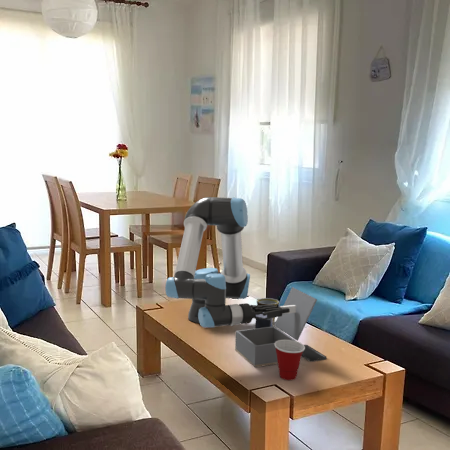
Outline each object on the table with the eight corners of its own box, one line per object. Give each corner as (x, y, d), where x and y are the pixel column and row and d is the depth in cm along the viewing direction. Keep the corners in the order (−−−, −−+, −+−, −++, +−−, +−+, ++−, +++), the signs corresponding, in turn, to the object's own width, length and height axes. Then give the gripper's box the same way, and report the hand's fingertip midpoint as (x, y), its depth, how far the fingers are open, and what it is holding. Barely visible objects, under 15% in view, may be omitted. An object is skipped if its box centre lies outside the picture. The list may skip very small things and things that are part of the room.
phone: (306, 344, 231) (327, 357, 217) (306, 347, 231) (327, 360, 217) (289, 346, 227) (310, 360, 214) (289, 349, 227) (310, 362, 214)
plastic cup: (296, 386, 193) (297, 352, 191) (267, 378, 198) (268, 346, 196) (309, 375, 202) (310, 343, 200) (281, 368, 207) (282, 337, 206)
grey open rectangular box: (235, 350, 225) (235, 330, 223) (273, 345, 231) (274, 326, 230) (254, 367, 208) (255, 346, 207) (295, 361, 215) (296, 340, 213)
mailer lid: (292, 287, 231) (294, 287, 231) (274, 325, 230) (275, 326, 230) (316, 298, 214) (318, 299, 214) (296, 340, 213) (298, 341, 214)
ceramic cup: (282, 323, 259) (283, 302, 257) (265, 327, 253) (266, 305, 252) (264, 315, 270) (265, 295, 268) (248, 319, 264) (248, 298, 262)
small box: (270, 344, 232) (270, 319, 231) (254, 342, 234) (254, 318, 232) (273, 335, 243) (273, 311, 241) (257, 334, 244) (258, 310, 242)
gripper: (232, 318, 219) (286, 313, 228) (246, 329, 207) (302, 322, 216) (232, 299, 218) (287, 295, 227) (246, 309, 206) (303, 303, 215)
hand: (294, 308), depth 221 cm, fingers closed
